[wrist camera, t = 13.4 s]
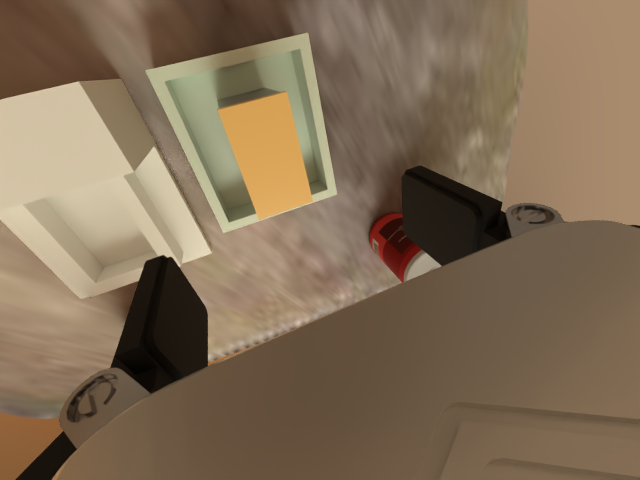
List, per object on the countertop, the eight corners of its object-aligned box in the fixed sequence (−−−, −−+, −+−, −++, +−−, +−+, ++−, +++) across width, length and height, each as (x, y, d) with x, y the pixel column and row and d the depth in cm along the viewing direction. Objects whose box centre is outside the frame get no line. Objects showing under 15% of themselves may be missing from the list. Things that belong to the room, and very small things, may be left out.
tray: (154, 70, 26) (145, 70, 22) (295, 37, 28) (308, 32, 24) (222, 216, 35) (223, 233, 31) (324, 182, 37) (337, 194, 33)
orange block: (215, 99, 28) (217, 110, 19) (265, 86, 28) (287, 91, 20) (247, 183, 33) (259, 219, 25) (288, 170, 34) (312, 201, 25)
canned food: (389, 258, 48) (429, 300, 39) (357, 242, 44) (395, 285, 35) (417, 223, 46) (466, 259, 37) (387, 202, 42) (434, 237, 33)
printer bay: (-82, 126, 23) (-244, 155, 15) (121, 78, 25) (78, 81, 17) (83, 293, 34) (43, 362, 26) (212, 249, 37) (212, 299, 28)
